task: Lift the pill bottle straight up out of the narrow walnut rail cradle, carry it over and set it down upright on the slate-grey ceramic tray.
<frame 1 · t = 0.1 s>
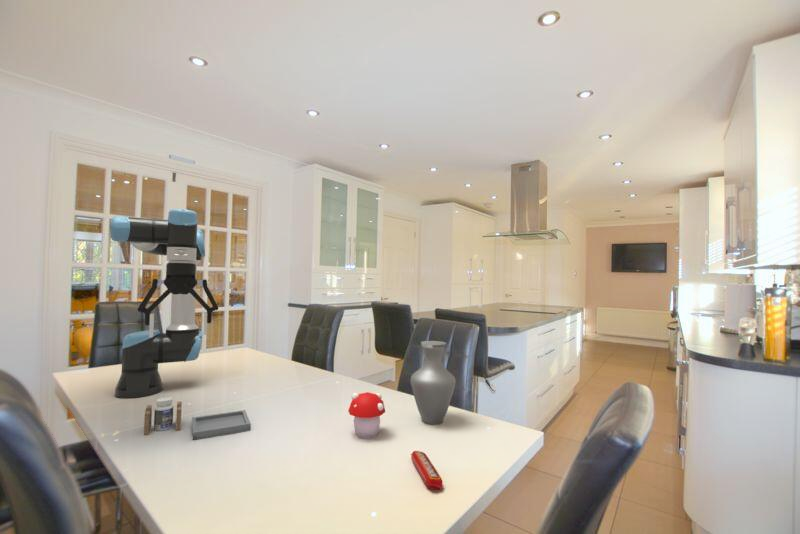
hand: (178, 335, 111), 28 cm above the table, fingers open, 13 cm apart
mushroom: (366, 434, 111), on the table
pill bottle: (163, 428, 113), on the table
walnut rail cradle: (163, 427, 113), on the table
vase: (432, 421, 122), on the table
slate tray: (220, 427, 114), on the table
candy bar: (425, 475, 89), on the table
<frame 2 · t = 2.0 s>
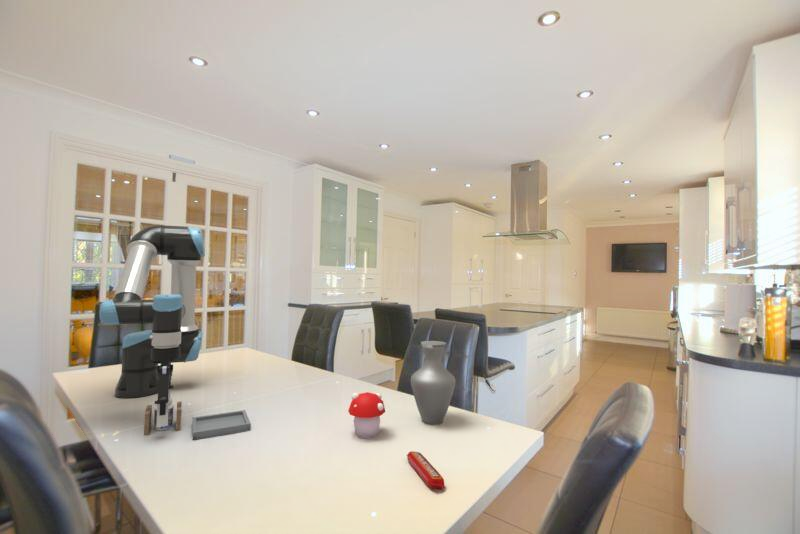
hand: (163, 418, 113), 3 cm above the table, fingers open, 13 cm apart
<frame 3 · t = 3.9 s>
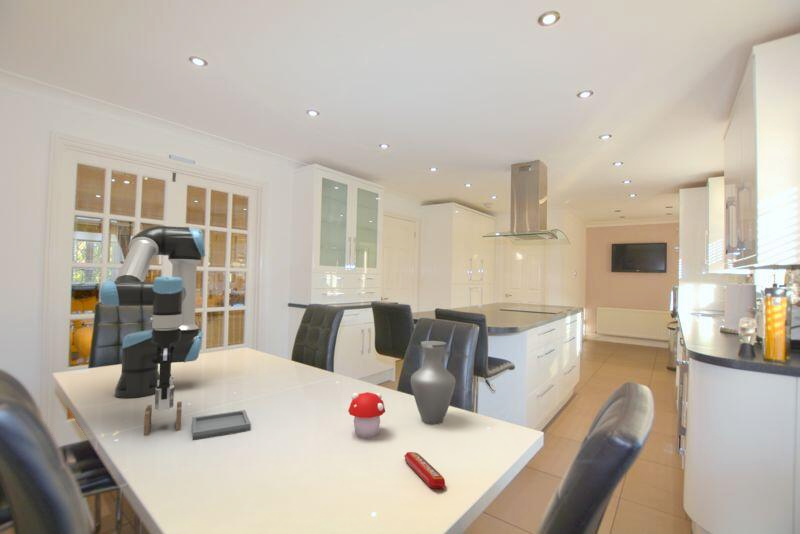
hand: (164, 406, 114), 6 cm above the table, fingers closed on pill bottle, 5 cm apart
pill bottle: (164, 408, 114), point 6 cm above the table, touching gripper
everything else where it was.
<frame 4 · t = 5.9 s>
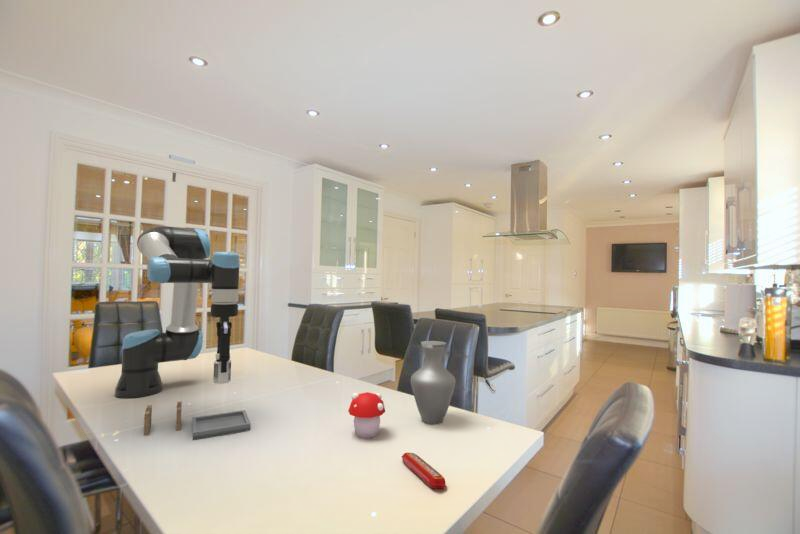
hand: (222, 380, 114), 14 cm above the table, fingers closed on pill bottle, 5 cm apart
pill bottle: (222, 382, 114), point 13 cm above the table, touching gripper
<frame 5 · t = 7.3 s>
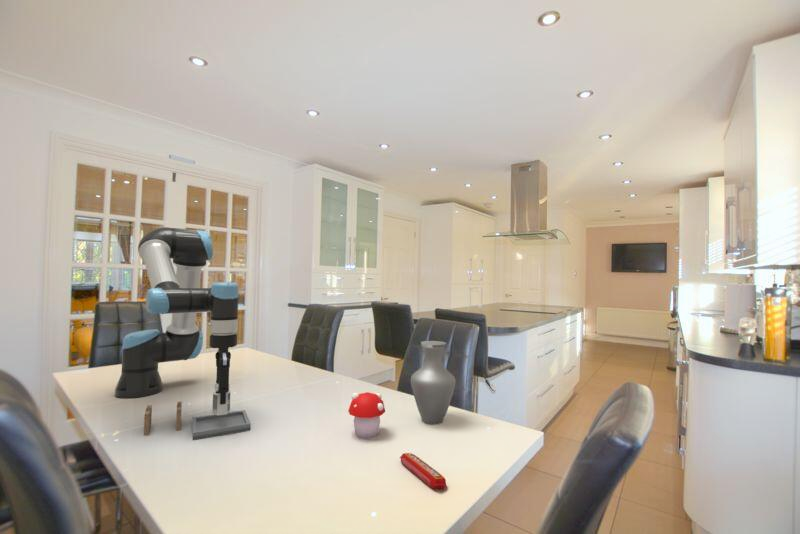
hand: (221, 411, 114), 5 cm above the table, fingers closed on pill bottle, 5 cm apart
pill bottle: (221, 413, 114), point 4 cm above the table, touching gripper
when the fingers open (2 cm above the table, at t = 8.2 s): pill bottle stays where it is, resting on slate tray.
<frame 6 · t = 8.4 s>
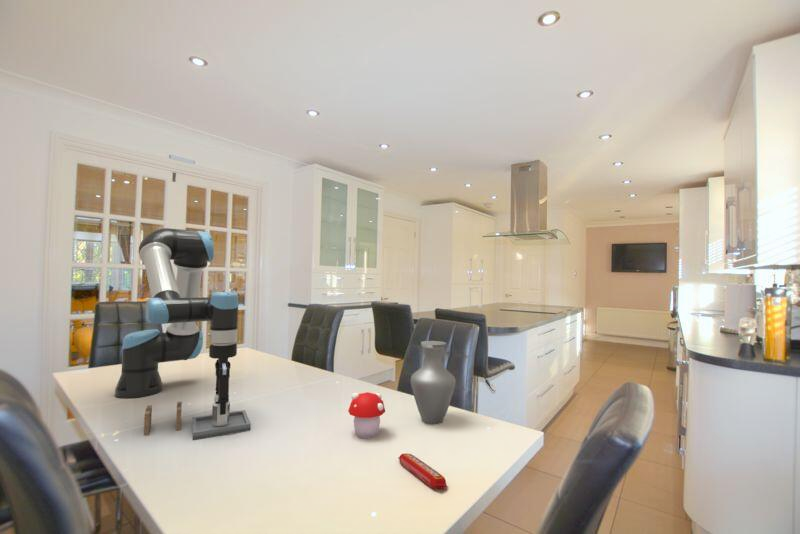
hand: (221, 420, 114), 2 cm above the table, fingers open, 7 cm apart
pill bottle: (220, 424, 114), point 1 cm above the table, touching slate tray
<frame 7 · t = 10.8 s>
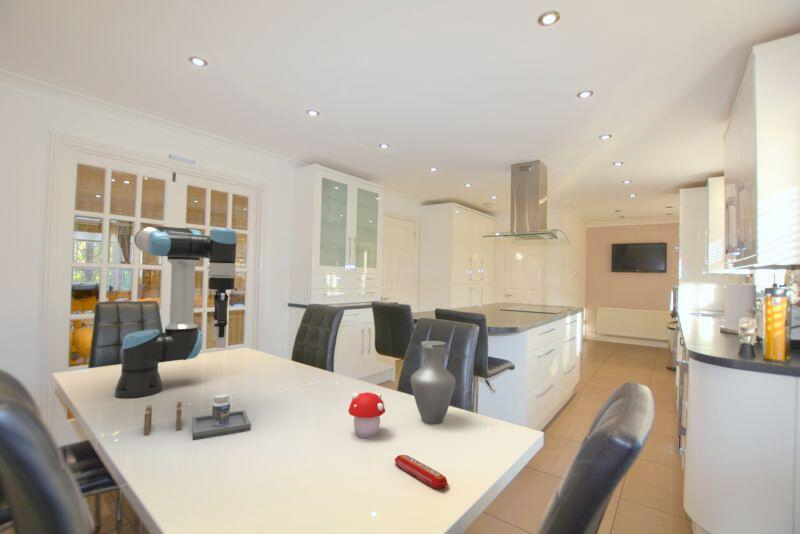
hand: (219, 343, 122), 24 cm above the table, fingers open, 13 cm apart
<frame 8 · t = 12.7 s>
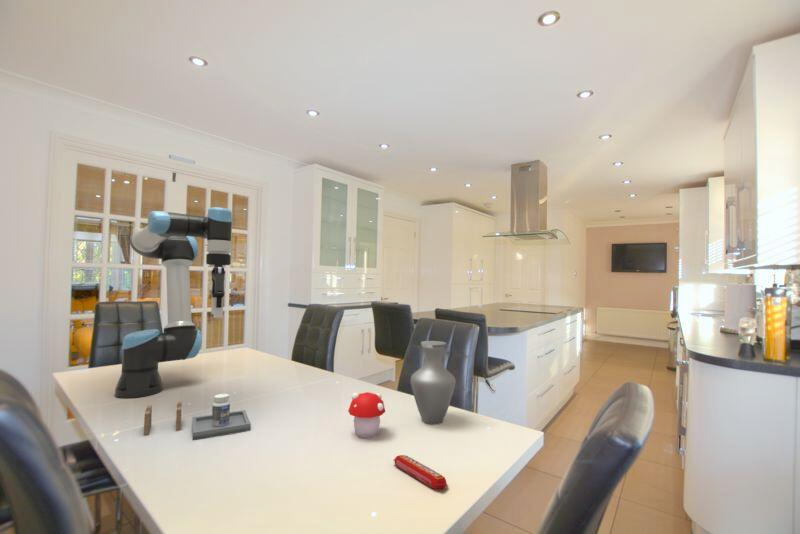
hand: (216, 315, 129), 32 cm above the table, fingers open, 13 cm apart
at the end: pill bottle inside the target area on the slate tray (0.1 cm from its centre), point 0.8 cm above the slate tray's base; pill bottle tilted 0°; the gripper is holding nothing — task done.
